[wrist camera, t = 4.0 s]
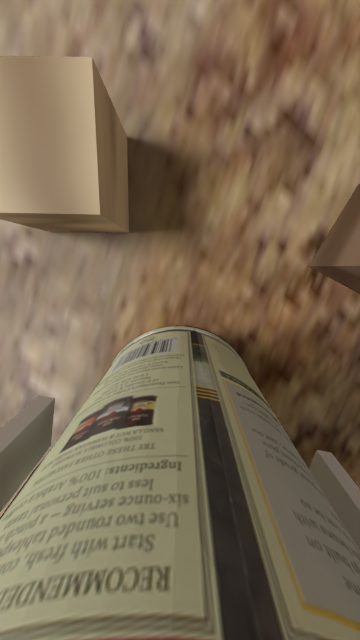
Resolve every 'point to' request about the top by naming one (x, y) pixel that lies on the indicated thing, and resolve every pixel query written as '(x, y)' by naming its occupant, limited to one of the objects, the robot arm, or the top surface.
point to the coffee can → (176, 514)
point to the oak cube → (61, 147)
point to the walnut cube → (342, 247)
